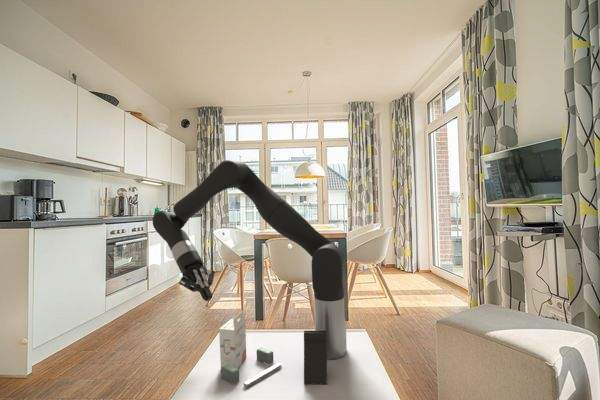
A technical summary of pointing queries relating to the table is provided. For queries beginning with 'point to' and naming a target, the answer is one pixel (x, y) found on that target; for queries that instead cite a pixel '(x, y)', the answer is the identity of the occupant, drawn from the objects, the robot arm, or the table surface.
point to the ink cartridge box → (233, 341)
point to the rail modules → (232, 373)
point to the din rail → (262, 375)
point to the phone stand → (315, 357)
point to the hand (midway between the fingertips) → (209, 299)
